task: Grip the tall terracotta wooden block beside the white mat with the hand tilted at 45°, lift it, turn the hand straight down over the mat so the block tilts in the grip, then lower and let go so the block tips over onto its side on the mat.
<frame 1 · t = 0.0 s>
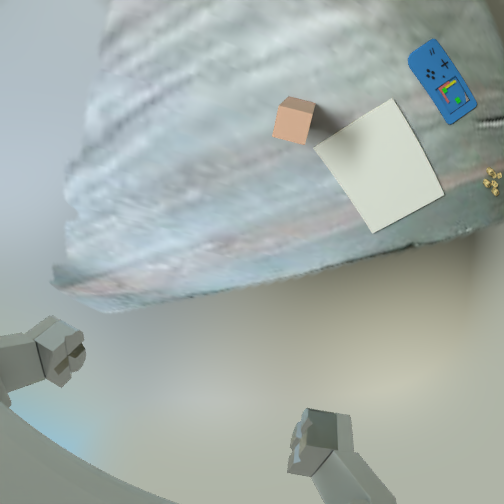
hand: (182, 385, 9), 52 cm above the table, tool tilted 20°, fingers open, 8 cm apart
handheld gaming device: (441, 81, 39), on the table
white mat: (383, 169, 53), on the table
terracotta block: (299, 112, 50), on the table
dice set: (489, 178, 47), on the table
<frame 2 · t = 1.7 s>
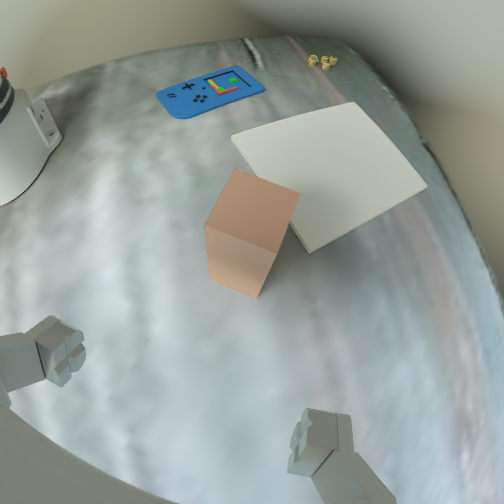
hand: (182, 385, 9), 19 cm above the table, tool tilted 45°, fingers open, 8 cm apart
handheld gaming device: (210, 93, 42), on the table
white mat: (337, 162, 38), on the table
terracotta block: (242, 267, 31), on the table
dice set: (320, 67, 48), on the table
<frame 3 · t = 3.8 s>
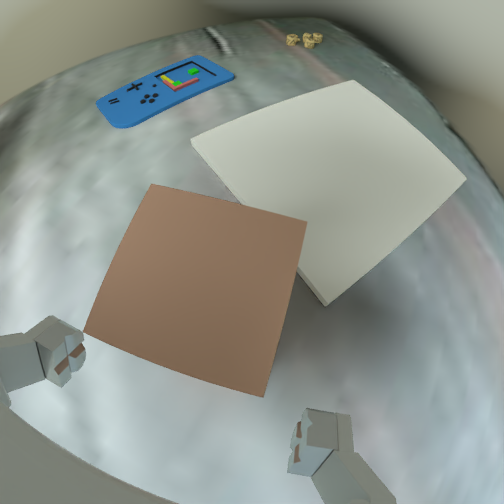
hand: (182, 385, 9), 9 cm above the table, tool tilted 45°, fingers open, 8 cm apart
handheld gaming device: (164, 92, 31), on the table
white mat: (346, 158, 26), on the table
terracotta block: (221, 343, 19), on the table
dice set: (302, 46, 38), on the table
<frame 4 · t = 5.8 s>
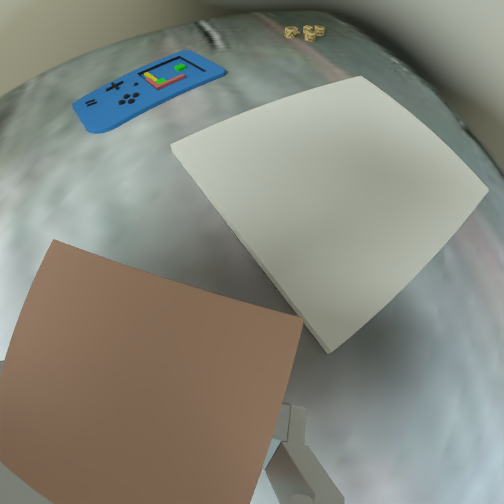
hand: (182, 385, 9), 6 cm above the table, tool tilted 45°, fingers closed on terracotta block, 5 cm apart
handheld gaming device: (147, 91, 27), on the table
white mat: (355, 166, 22), on the table
terracotta block: (201, 397, 15), on the table, touching gripper
dice set: (302, 40, 34), on the table
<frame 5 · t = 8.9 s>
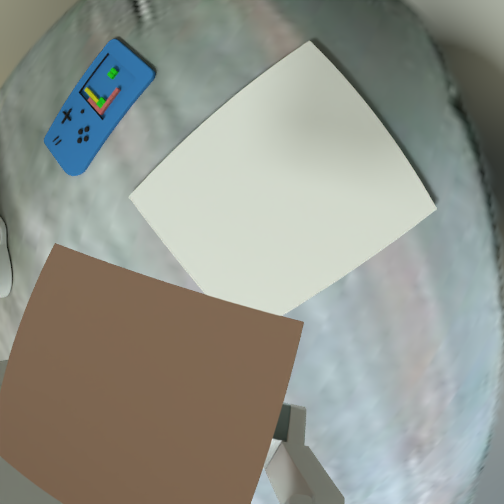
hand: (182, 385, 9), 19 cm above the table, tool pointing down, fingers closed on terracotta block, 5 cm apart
handheld gaming device: (95, 109, 27), on the table
white mat: (277, 196, 26), on the table
terracotta block: (201, 398, 15), point 15 cm above the table, tilted 44°, touching gripper
when the fingers open (8 cm above the table, at t = 12.0 s): terracotta block moves 2 cm and tips over, resting on white mat.
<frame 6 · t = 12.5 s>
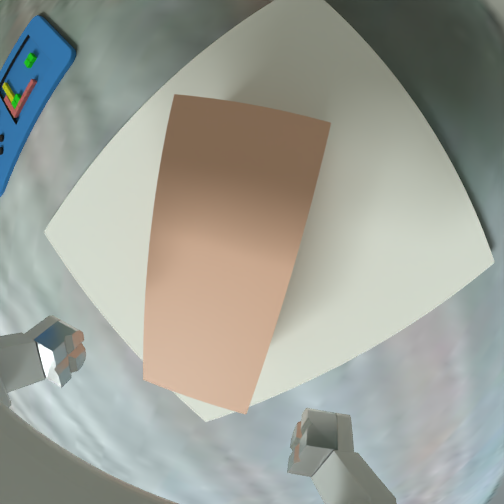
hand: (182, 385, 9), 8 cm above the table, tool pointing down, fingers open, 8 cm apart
handheld gaming device: (13, 110, 16), on the table
white mat: (246, 239, 16), on the table
terracotta block: (208, 365, 15), point 3 cm above the table, tilted 90°, touching white mat
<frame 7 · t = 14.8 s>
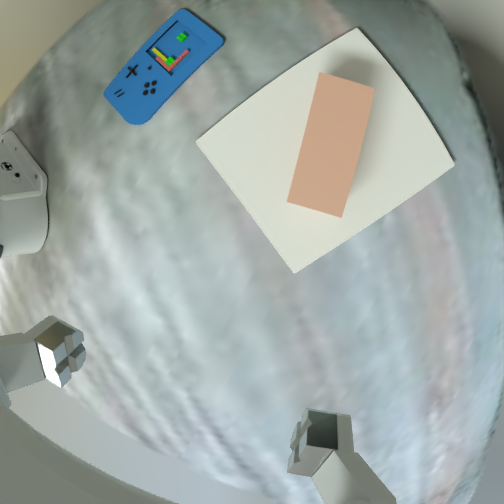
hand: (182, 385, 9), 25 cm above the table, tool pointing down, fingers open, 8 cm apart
handheld gaming device: (161, 68, 30), on the table
white mat: (329, 146, 29), on the table
terracotta block: (314, 205, 28), point 3 cm above the table, tilted 90°, touching white mat
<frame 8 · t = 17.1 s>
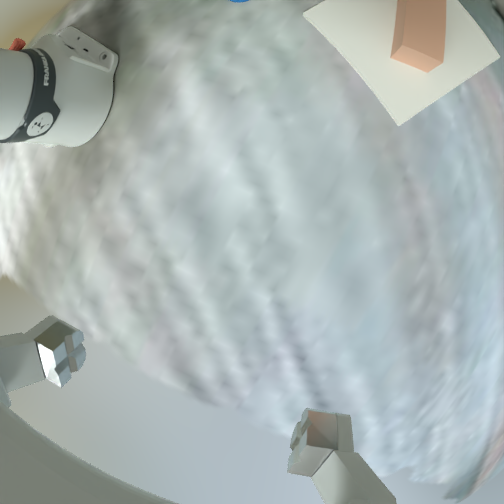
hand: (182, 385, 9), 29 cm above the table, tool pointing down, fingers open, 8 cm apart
white mat: (412, 30, 26), on the table
terracotta block: (415, 59, 25), point 3 cm above the table, tilted 90°, touching white mat
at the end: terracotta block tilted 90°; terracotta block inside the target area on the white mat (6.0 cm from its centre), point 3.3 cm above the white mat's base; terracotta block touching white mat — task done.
